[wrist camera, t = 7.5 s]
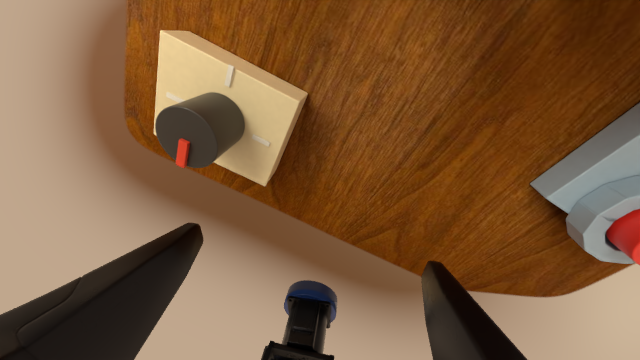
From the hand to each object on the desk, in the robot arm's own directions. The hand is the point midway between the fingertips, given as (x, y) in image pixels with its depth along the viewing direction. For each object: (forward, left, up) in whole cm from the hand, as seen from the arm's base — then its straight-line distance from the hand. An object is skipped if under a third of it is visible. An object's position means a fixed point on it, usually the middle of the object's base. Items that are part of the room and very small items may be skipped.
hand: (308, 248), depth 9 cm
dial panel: (+2, +9, -13) cm, 16 cm away
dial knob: (+2, +9, -10) cm, 13 cm away
